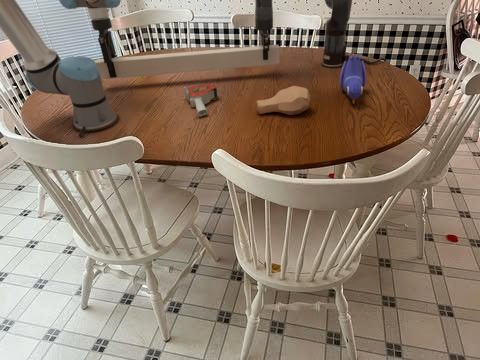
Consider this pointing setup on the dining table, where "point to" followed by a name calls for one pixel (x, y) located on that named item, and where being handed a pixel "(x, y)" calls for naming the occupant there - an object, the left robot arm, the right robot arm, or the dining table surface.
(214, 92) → the tape dispenser
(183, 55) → the post
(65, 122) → the dining table surface
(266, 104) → the squash
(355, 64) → the toy
